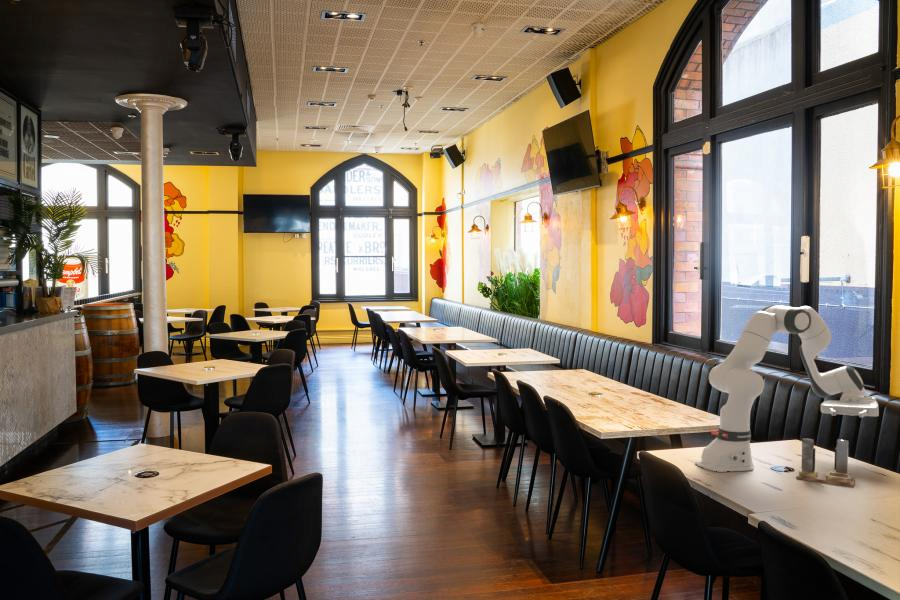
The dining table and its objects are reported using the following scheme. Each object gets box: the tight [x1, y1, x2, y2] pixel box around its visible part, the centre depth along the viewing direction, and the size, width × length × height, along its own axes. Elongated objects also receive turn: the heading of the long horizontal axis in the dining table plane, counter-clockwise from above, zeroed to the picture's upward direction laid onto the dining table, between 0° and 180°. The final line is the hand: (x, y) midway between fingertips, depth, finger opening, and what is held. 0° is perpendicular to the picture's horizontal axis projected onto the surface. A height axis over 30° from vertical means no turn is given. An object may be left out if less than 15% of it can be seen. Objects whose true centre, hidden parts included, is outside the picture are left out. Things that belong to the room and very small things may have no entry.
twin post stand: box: [795, 438, 856, 488], centre depth 260 cm, size 18×9×14 cm, turn 57°
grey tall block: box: [834, 438, 849, 474], centre depth 266 cm, size 4×3×14 cm
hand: (847, 414), depth 275 cm, fingers open, 8 cm apart
